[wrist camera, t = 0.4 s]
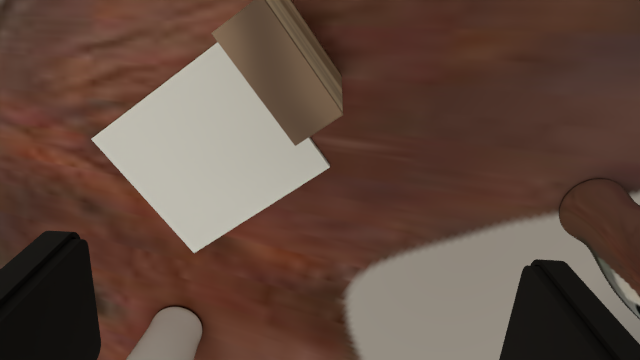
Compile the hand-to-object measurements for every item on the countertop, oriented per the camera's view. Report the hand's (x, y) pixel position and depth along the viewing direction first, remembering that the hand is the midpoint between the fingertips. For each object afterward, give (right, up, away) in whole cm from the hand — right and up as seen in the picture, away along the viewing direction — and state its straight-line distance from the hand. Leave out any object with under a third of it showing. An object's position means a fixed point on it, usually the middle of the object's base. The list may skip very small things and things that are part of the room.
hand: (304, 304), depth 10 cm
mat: (-9, +5, +32) cm, 34 cm away
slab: (-2, +14, +29) cm, 32 cm away
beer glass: (+25, 0, +33) cm, 42 cm away
